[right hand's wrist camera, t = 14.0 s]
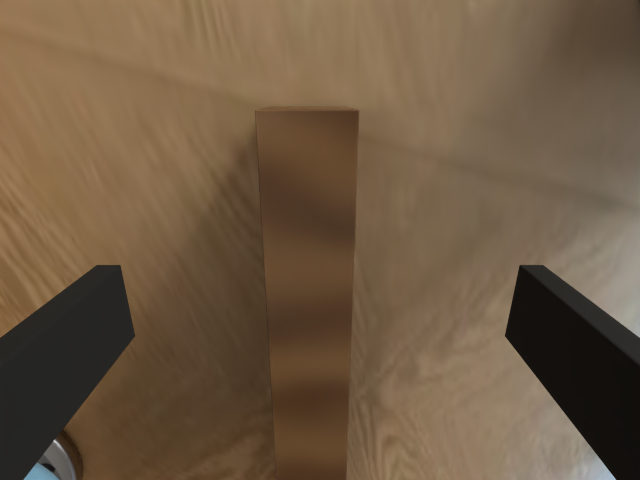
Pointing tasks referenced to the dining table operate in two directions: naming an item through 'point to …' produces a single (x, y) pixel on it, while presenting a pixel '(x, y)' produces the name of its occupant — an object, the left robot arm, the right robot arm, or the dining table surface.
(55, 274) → the dining table surface
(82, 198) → the dining table surface
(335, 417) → the beam
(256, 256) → the dining table surface
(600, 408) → the right robot arm
